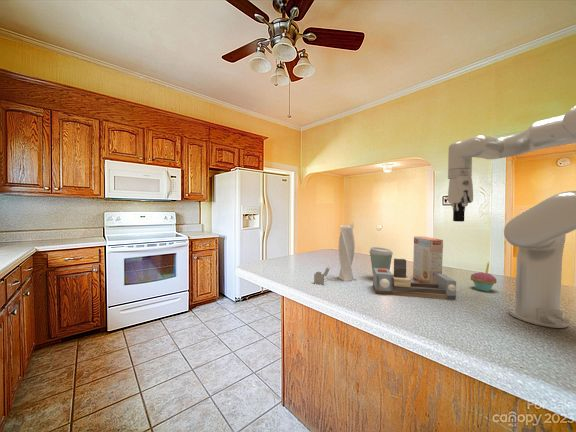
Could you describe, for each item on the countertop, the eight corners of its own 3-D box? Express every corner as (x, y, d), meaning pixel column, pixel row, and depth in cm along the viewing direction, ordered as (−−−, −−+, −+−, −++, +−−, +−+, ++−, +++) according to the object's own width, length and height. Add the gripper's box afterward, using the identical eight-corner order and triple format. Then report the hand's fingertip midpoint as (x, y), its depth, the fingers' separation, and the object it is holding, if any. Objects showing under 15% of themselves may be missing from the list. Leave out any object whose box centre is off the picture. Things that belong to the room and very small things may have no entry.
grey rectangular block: (456, 300, 88) (456, 281, 88) (447, 299, 89) (447, 281, 88) (444, 291, 98) (444, 274, 98) (436, 290, 99) (436, 273, 99)
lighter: (313, 283, 108) (314, 265, 107) (315, 282, 109) (315, 265, 109) (329, 285, 105) (329, 267, 105) (330, 284, 106) (330, 266, 106)
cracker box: (442, 287, 103) (443, 239, 102) (428, 287, 103) (429, 239, 102) (424, 278, 117) (425, 236, 116) (412, 278, 117) (413, 236, 116)
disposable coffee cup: (393, 278, 117) (394, 247, 117) (390, 283, 108) (391, 250, 107) (371, 275, 122) (371, 246, 122) (366, 280, 113) (367, 248, 113)
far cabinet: (392, 295, 93) (393, 275, 92) (376, 294, 94) (376, 274, 94) (387, 287, 103) (387, 268, 103) (372, 286, 104) (373, 267, 104)
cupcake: (486, 286, 104) (487, 259, 104) (502, 293, 96) (502, 263, 96) (465, 286, 105) (466, 259, 105) (479, 292, 97) (479, 263, 96)
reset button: (386, 279, 97) (386, 270, 97) (379, 279, 98) (379, 269, 98) (385, 277, 100) (385, 268, 100) (378, 277, 100) (378, 268, 100)
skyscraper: (359, 281, 112) (359, 222, 111) (344, 283, 109) (345, 222, 108) (348, 276, 120) (349, 221, 119) (334, 278, 117) (335, 221, 116)
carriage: (410, 287, 93) (410, 261, 92) (394, 286, 94) (394, 261, 94) (405, 281, 101) (405, 257, 100) (389, 280, 102) (390, 257, 102)
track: (455, 299, 89) (455, 291, 88) (376, 293, 95) (376, 286, 94) (444, 291, 98) (444, 283, 98) (372, 286, 104) (373, 279, 104)
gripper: (481, 170, 85) (480, 222, 85) (460, 176, 99) (460, 220, 100) (458, 171, 86) (456, 222, 87) (440, 177, 101) (440, 220, 101)
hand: (458, 221), depth 93 cm, fingers closed
